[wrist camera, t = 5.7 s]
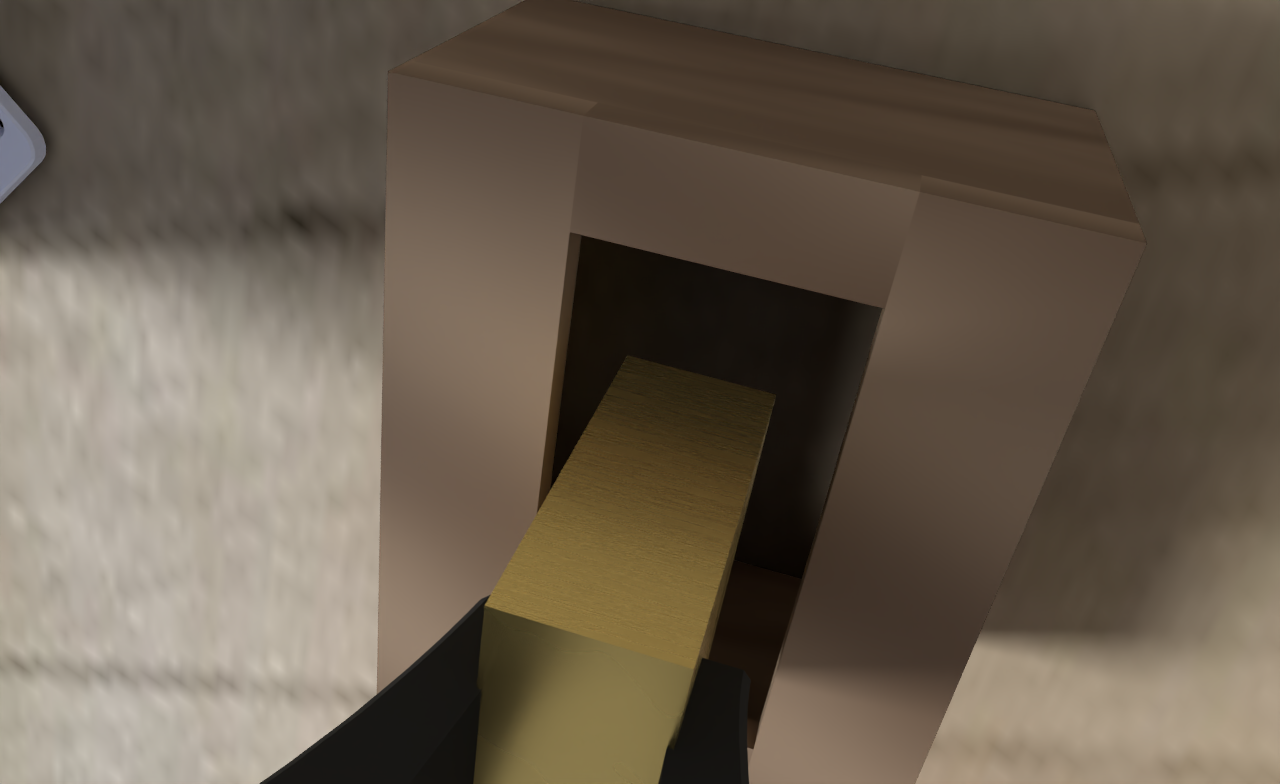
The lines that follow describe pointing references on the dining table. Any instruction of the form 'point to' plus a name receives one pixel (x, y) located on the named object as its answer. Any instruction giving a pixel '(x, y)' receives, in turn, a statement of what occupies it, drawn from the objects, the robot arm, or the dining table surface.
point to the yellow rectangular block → (619, 583)
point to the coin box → (768, 249)
